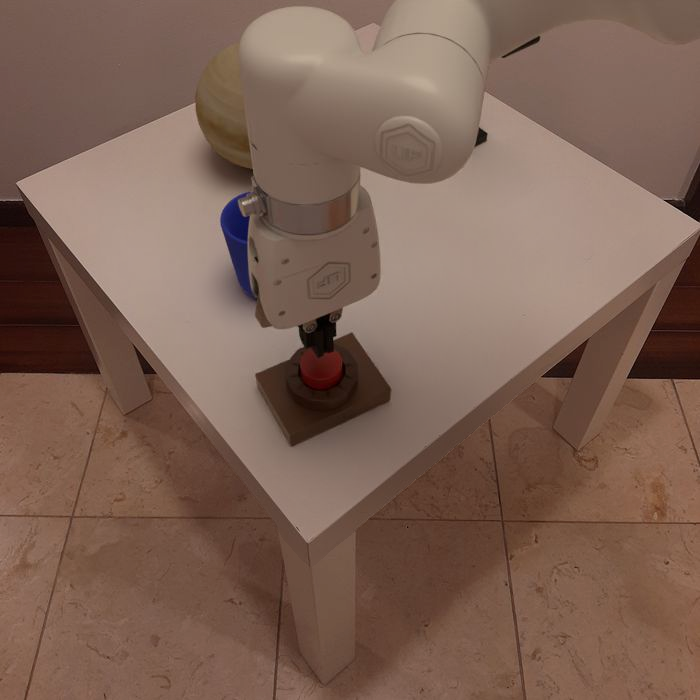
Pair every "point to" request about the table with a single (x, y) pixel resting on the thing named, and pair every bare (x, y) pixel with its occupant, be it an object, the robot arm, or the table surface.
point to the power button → (321, 369)
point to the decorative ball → (224, 107)
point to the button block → (322, 392)
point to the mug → (237, 240)
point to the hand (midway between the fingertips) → (318, 343)
